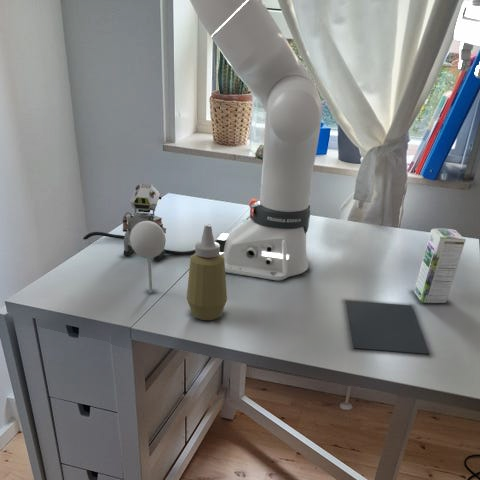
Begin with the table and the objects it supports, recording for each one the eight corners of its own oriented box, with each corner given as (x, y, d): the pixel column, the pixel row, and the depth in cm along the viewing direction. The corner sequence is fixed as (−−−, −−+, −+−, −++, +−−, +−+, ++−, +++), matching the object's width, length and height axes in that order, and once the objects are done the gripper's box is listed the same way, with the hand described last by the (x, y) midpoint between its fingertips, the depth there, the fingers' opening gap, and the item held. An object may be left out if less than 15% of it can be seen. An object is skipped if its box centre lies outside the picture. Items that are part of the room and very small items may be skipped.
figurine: (173, 247, 141) (171, 184, 132) (156, 264, 132) (153, 198, 123) (138, 242, 143) (134, 180, 133) (120, 259, 134) (114, 193, 125)
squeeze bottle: (221, 326, 111) (224, 235, 100) (181, 320, 112) (180, 230, 101) (230, 308, 117) (234, 220, 106) (192, 302, 118) (192, 215, 107)
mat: (353, 348, 107) (354, 347, 107) (346, 301, 122) (346, 300, 122) (428, 354, 106) (428, 353, 106) (410, 306, 122) (411, 305, 122)
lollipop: (173, 288, 123) (170, 219, 114) (158, 302, 118) (155, 230, 108) (143, 282, 125) (138, 213, 115) (128, 295, 119) (122, 224, 110)
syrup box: (412, 292, 128) (429, 227, 119) (438, 292, 128) (456, 228, 119) (421, 303, 123) (439, 237, 114) (447, 303, 124) (467, 238, 115)
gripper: (457, -19, 108) (438, 66, 117) (498, -17, 92) (473, 81, 101) (489, -17, 109) (468, 67, 117) (536, -15, 93) (507, 82, 101)
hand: (471, 74), depth 109 cm, fingers open, 8 cm apart
